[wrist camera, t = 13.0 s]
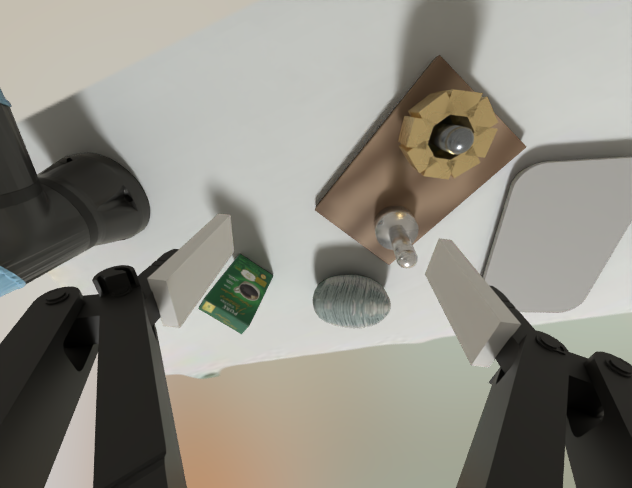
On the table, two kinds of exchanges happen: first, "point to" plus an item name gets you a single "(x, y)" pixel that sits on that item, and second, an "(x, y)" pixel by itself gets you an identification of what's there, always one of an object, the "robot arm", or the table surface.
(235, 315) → the coffee box
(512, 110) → the table surface
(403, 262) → the stand rod
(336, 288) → the grey marbled egg
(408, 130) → the tan boxy piece
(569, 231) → the tablet
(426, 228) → the walnut plate
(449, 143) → the metal peg stand
